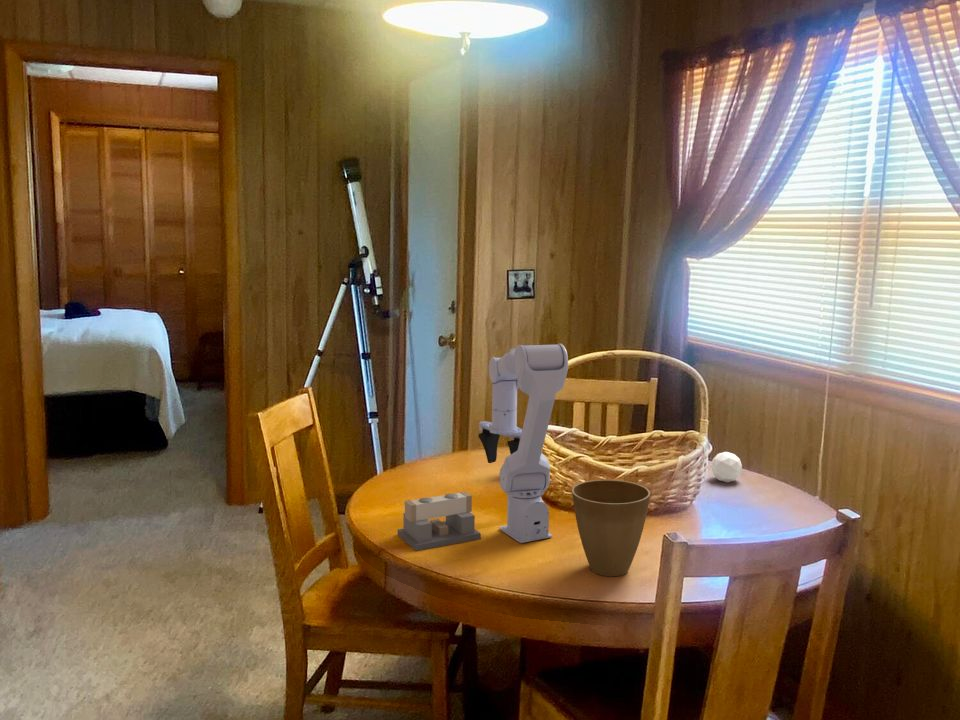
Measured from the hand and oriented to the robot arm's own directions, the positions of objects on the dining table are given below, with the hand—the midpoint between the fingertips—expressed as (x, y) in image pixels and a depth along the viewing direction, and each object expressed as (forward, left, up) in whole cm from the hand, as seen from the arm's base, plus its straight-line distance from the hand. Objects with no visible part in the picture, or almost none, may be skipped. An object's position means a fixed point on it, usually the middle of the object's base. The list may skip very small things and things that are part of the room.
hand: (503, 465), depth 199 cm
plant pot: (-39, -2, -11) cm, 41 cm away
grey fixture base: (-9, +21, -11) cm, 25 cm away
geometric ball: (-7, -63, -11) cm, 64 cm away
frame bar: (-9, +21, -6) cm, 24 cm away
